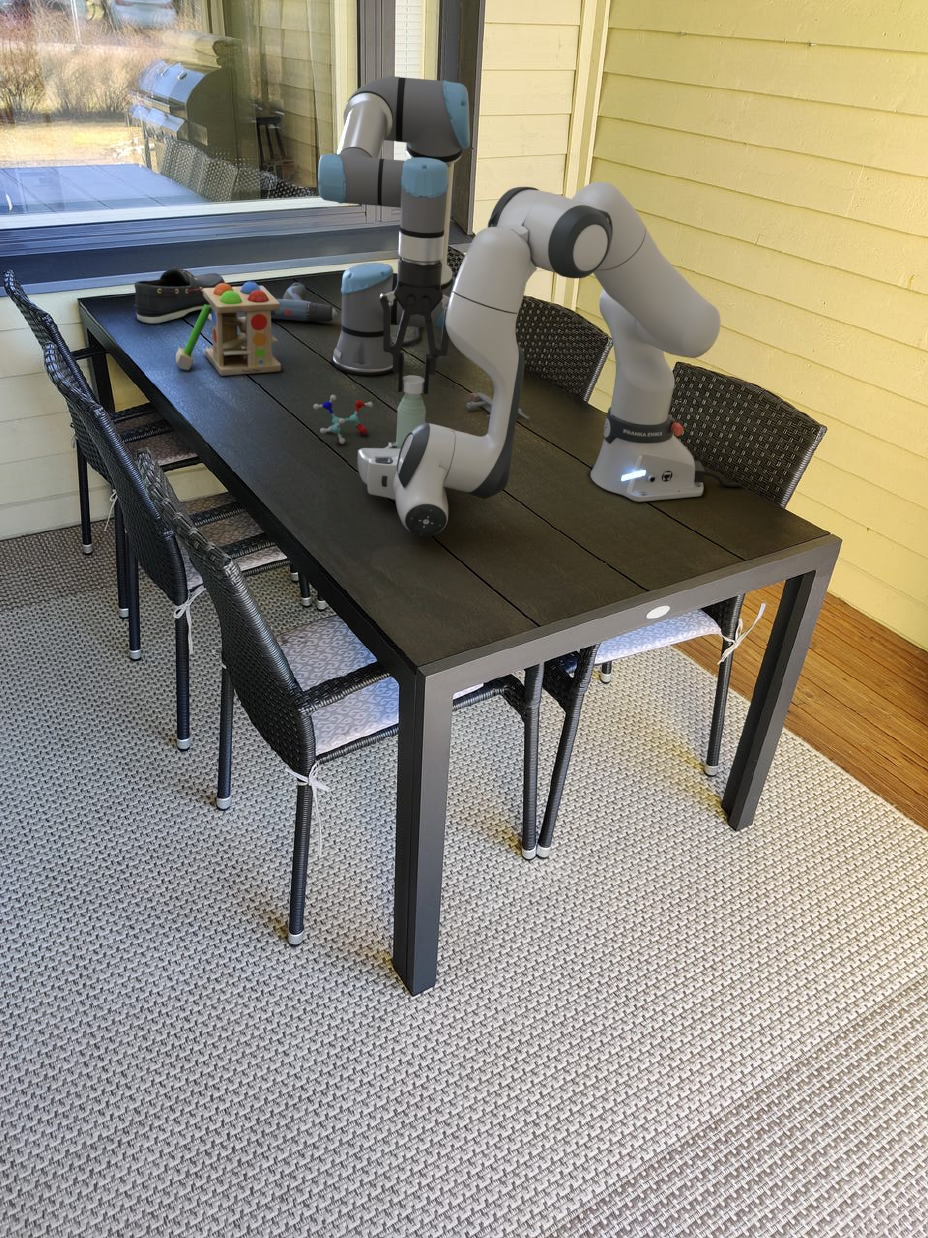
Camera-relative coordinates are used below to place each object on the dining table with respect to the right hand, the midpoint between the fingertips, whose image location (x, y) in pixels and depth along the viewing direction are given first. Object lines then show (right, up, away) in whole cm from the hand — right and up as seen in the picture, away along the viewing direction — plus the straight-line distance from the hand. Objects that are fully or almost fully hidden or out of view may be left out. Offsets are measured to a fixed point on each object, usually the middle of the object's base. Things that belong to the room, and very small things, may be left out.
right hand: (408, 446), depth 187 cm
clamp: (+17, +13, +33) cm, 39 cm away
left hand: (+1, +9, -7) cm, 12 cm away
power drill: (-33, +50, +80) cm, 100 cm away
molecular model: (-15, +5, +16) cm, 23 cm away
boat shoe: (-65, +50, +75) cm, 111 cm away
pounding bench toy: (-46, +27, +43) cm, 68 cm away
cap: (+1, +10, -8) cm, 13 cm away
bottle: (0, -6, +3) cm, 6 cm away
